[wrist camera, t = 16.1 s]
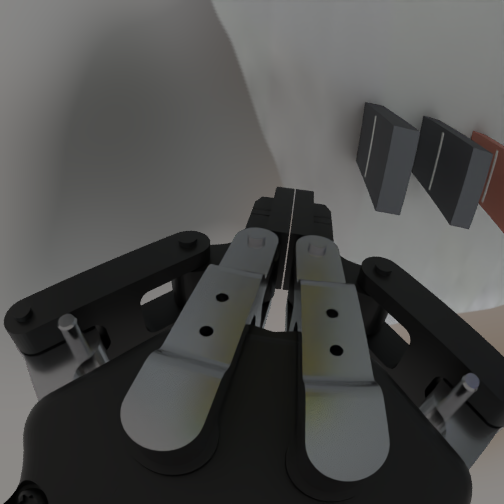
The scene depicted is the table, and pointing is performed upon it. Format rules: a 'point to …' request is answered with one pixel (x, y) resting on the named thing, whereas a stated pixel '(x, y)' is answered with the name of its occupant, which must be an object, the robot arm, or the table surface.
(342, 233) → the table surface
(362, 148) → the black domino
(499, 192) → the red domino
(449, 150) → the black domino
